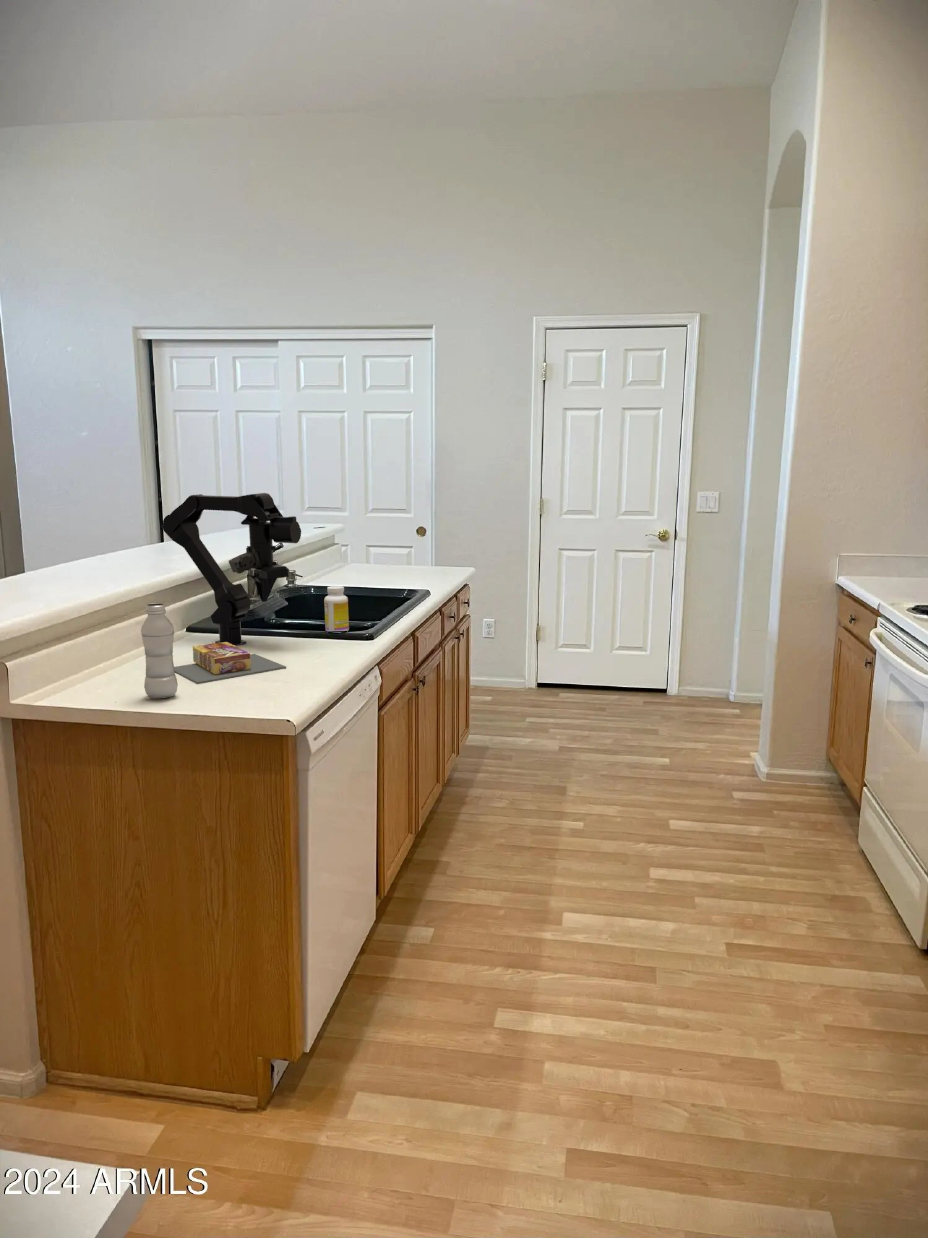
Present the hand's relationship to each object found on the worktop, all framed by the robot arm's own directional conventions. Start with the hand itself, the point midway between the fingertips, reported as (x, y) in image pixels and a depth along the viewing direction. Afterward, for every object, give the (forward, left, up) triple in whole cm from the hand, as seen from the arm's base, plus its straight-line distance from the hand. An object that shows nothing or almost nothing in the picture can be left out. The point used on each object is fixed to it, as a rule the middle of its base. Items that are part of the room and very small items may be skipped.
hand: (264, 601), depth 231 cm
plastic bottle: (+30, -39, -12) cm, 51 cm away
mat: (+16, -18, -12) cm, 27 cm away
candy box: (+6, -18, -10) cm, 22 cm away
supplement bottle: (-4, +24, -12) cm, 27 cm away
